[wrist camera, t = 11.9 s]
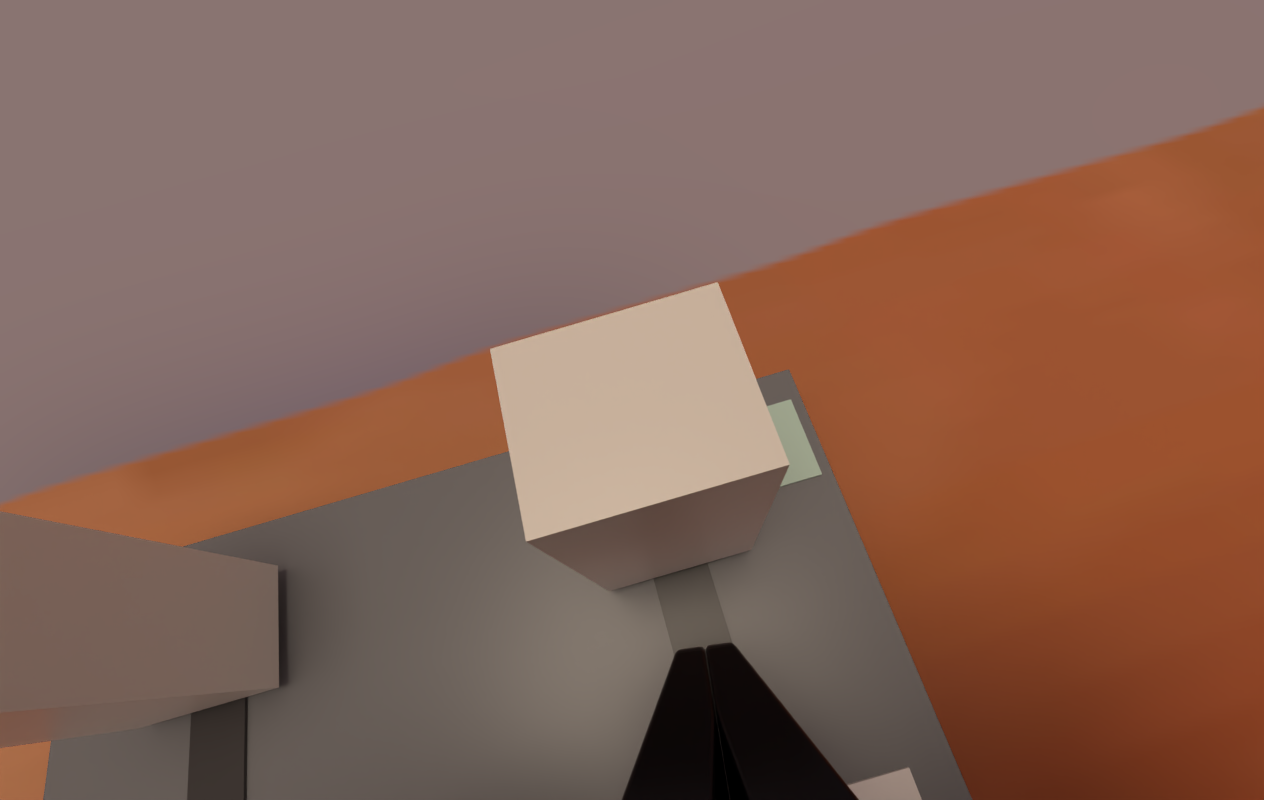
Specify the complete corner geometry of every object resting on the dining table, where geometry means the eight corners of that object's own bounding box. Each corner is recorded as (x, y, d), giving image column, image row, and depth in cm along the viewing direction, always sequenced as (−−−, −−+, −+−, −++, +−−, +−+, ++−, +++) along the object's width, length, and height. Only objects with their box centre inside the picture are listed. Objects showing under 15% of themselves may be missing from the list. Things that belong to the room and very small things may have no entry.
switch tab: (278, 687, 14) (-88, 720, 8) (138, 728, 14) (-350, 796, 8) (278, 565, 15) (-39, 503, 9) (147, 603, 15) (-266, 569, 9)
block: (751, 549, 14) (790, 464, 8) (609, 591, 14) (525, 541, 8) (712, 438, 15) (717, 282, 9) (582, 476, 15) (490, 349, 9)
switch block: (951, 808, 14) (987, 832, 12) (86, 1059, 14) (-5, 1120, 12) (781, 395, 18) (789, 368, 16) (130, 585, 18) (69, 578, 16)
